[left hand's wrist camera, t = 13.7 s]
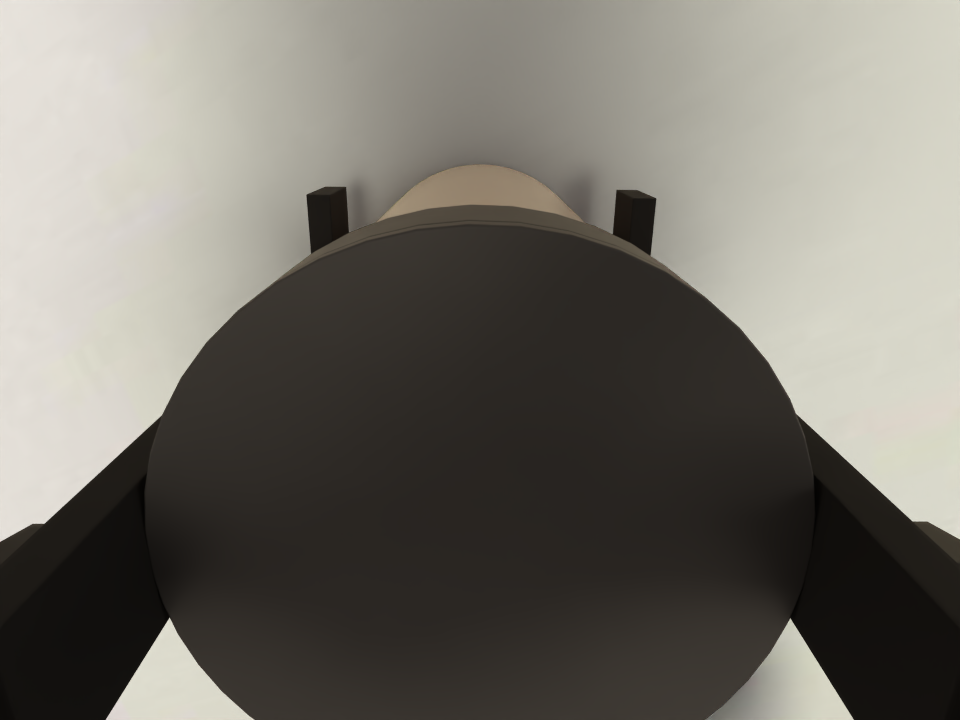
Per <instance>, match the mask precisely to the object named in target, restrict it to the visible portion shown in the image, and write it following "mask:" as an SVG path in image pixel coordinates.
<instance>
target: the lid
mask: <svg viewBox="0 0 960 720" xmlns="http://www.w3.org/2000/svg"><path fill="white" fill-rule="evenodd" d="M144 514H145V535H146V541H147V546H148V551H149V556H150V561H151V566H152V570H153V575H154V578H155V581H156V585H157V588H158V591H159V594H160V597H161V600H162V603H163V605H164V607H165V609H166V611H167V613H168V615H169V617H170V619H171V621H172V623H173V625H174V627H175V629H176V631H177V633H178V635H179V636H180V638H181V639H182V641H183V642H184V644H185V645H186V647H187V648H188V650H189V651H190V653H191V654H192V656H193V657H194V659H195V660H196V662H197V663H198V665H199V666H200V667H201V668H202V669H203V670H204V671H205V673H206V674H207V675H208V676H209V677H210V678H211V679H212V681H213V682H214V683H215V684H216V685H217V686H218V687H219V689H220V690H221V691H222V692H223V693H224V694H225V695H227V696H228V697H229V698H230V699H231V700H232V701H233V702H234V703H235V704H237V705H238V706H239V707H240V708H241V709H242V710H243V711H244V712H245V713H247V714H248V715H249V716H250V717H252V718H253V719H254V720H705V719H706V718H708V717H709V716H710V715H711V714H713V713H714V712H715V711H716V710H718V709H719V708H720V707H722V706H723V705H724V704H725V703H726V702H727V701H728V700H729V699H730V698H731V697H732V696H733V695H734V694H735V693H736V692H737V691H738V690H739V689H740V688H741V687H742V686H743V685H744V684H745V683H746V682H747V681H748V680H749V679H750V677H751V676H752V675H753V673H754V672H755V671H756V670H757V668H758V667H759V666H760V665H761V663H762V662H763V661H764V659H765V658H766V657H767V656H768V654H769V653H770V652H771V650H772V648H773V647H774V645H775V643H776V642H777V640H778V638H779V637H780V635H781V633H782V631H783V630H784V628H785V626H786V625H787V623H788V621H789V619H790V617H791V615H792V612H793V610H794V607H795V605H796V603H797V600H798V598H799V595H800V593H801V591H802V588H803V585H804V581H805V577H806V573H807V569H808V564H809V560H810V555H811V550H812V545H813V537H814V527H815V517H816V510H815V493H814V476H813V471H812V466H811V462H810V457H809V453H808V448H807V444H806V439H805V436H804V433H803V431H802V428H801V425H800V423H799V420H798V418H797V415H796V413H795V410H794V408H793V405H792V403H791V400H790V398H789V396H788V395H787V393H786V391H785V390H784V388H783V386H782V385H781V383H780V381H779V380H778V378H777V376H776V375H775V373H774V371H773V369H772V368H771V366H770V364H769V363H768V361H767V360H766V359H765V358H764V357H763V355H762V354H761V353H760V352H759V351H758V349H757V348H756V347H755V346H754V344H753V343H752V342H751V341H750V340H749V338H748V337H747V336H746V335H745V334H744V332H743V331H742V330H741V329H740V328H739V327H738V326H737V325H736V324H735V323H734V322H732V321H731V320H730V319H729V318H728V317H727V316H726V315H725V314H724V313H722V312H721V311H720V310H719V309H718V308H717V307H716V306H715V305H713V304H712V303H711V302H710V301H709V300H708V299H707V298H706V297H704V296H703V295H702V294H700V293H699V292H698V291H697V290H695V289H694V288H693V287H692V286H690V285H689V284H688V283H686V282H685V281H684V280H683V279H681V278H680V277H679V276H677V275H676V274H675V273H674V272H672V271H671V270H670V269H668V268H667V267H666V266H665V265H663V264H662V263H660V262H659V261H657V260H656V259H654V258H653V257H651V256H650V255H648V254H646V253H645V252H643V251H642V250H640V249H639V248H637V247H636V246H634V245H633V244H631V243H629V242H627V241H625V240H623V239H621V238H619V237H617V236H615V235H613V234H610V233H608V232H606V231H604V230H602V229H600V228H598V227H596V226H593V225H590V224H587V223H584V222H581V221H577V220H574V219H571V218H568V217H565V216H562V215H559V214H555V213H550V212H544V211H539V210H533V209H527V208H521V207H516V206H498V205H472V204H470V205H460V206H449V207H439V208H428V209H424V210H420V211H416V212H411V213H407V214H403V215H398V216H394V217H390V218H386V219H384V220H381V221H379V222H376V223H373V224H371V225H368V226H365V227H363V228H360V229H358V230H355V231H352V232H350V233H348V234H346V235H344V236H342V237H340V238H339V239H337V240H335V241H333V242H331V243H330V244H328V245H326V246H324V247H322V248H321V249H319V250H317V251H315V252H313V253H312V254H311V255H309V256H308V257H307V258H305V259H304V260H303V261H301V262H300V263H299V264H297V265H296V266H295V267H293V268H292V269H291V270H289V271H288V272H287V273H285V274H284V275H283V276H282V277H280V278H279V279H278V280H276V281H275V282H274V283H273V284H271V285H270V286H269V287H267V288H266V289H265V290H264V291H262V292H261V293H260V294H258V295H257V296H256V297H255V298H253V299H252V300H251V301H249V302H248V303H247V304H246V305H244V306H243V307H242V308H240V309H239V310H238V311H237V312H236V313H235V314H234V315H233V316H232V317H231V318H230V319H229V320H228V321H227V322H226V323H225V324H224V325H223V326H222V327H221V328H220V329H219V330H218V331H217V332H216V333H215V334H214V335H213V336H212V337H211V338H210V339H209V340H208V341H207V342H206V344H205V345H204V347H203V348H202V349H201V351H200V352H199V354H198V355H197V356H196V358H195V359H194V360H193V362H192V363H191V365H190V366H189V367H188V369H187V370H186V372H185V373H184V374H183V376H182V377H181V379H180V381H179V383H178V385H177V387H176V389H175V391H174V393H173V395H172V397H171V399H170V401H169V403H168V405H167V407H166V409H165V411H164V413H163V414H162V417H161V421H160V424H159V427H158V430H157V433H156V436H155V439H154V443H153V446H152V449H151V452H150V457H149V464H148V471H147V477H146V484H145V491H144Z"/></svg>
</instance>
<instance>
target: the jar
mask: <svg viewBox="0 0 960 720" xmlns="http://www.w3.org/2000/svg"><path fill="white" fill-rule="evenodd" d="M470 204H472V205H498V206H516V207H521V208H527V209H533V210H539V211H544V212H550V213H555V214H559V215H562V216H565V217H568V218H571V219H574V220H577V221H581V222H584V221H583V220H582V219H581V218H580V217H579V216H578V215H577V214H576V213H575V212H574V211H572V210H571V209H570V208H569V207H568V206H567V205H566V204H565V203H564V202H563V201H562V200H561V199H560V198H559V197H558V196H557V195H556V194H555V193H553V192H552V191H551V190H550V189H549V188H548V187H546V186H545V185H543V184H542V183H540V182H539V181H537V180H536V179H534V178H532V177H530V176H528V175H526V174H524V173H522V172H519V171H516V170H513V169H510V168H507V167H501V166H496V165H482V164H475V165H464V166H459V167H455V168H450V169H447V170H444V171H441V172H439V173H436V174H434V175H432V176H430V177H428V178H426V179H425V180H423V181H421V182H419V183H418V184H417V185H415V186H414V187H413V188H411V189H410V190H409V191H408V192H407V193H406V194H405V195H404V196H402V197H401V198H400V199H399V200H398V201H397V202H396V203H395V204H394V205H393V206H392V207H391V208H390V209H389V210H388V211H387V212H386V213H385V214H384V215H383V216H382V217H381V218H380V219H379V220H378V221H377V222H379V221H381V220H384V219H386V218H390V217H394V216H398V215H403V214H407V213H411V212H416V211H420V210H424V209H428V208H439V207H449V206H460V205H470ZM375 223H376V222H375ZM584 223H585V222H584Z"/></svg>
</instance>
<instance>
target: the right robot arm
mask: <svg viewBox="0 0 960 720" xmlns="http://www.w3.org/2000/svg"><path fill="white" fill-rule="evenodd" d="M655 206H656V198H654V197H652V196H649V195H647V194H645V193H642V192H640V191H638V190H617V191H616V203H615V216H614V228H613V235H615V236H617V237H619V238H621V239H623V240H625V241H627V242H629V243H631V244H633V245H634V246H636V247H637V248H639V249H640V250H642V251H643V252H645V253H646V254H648V255H651V245H652V235H653V226H654V216H655ZM307 207H308V220H309V232H310V245H311V254H312V253H313V252H315V251H317V250H319V249H321V248H322V247H324V246H326V245H328V244H330V243H331V242H333V241H335V240H337V239H339V238H340V237H342V236H344V235H346V234H348V233H349V228H348V211H347V195H346V187H324V188H321V189H319V190H317V191H314V192H312V193H309V194H307Z"/></svg>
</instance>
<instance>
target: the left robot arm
mask: <svg viewBox="0 0 960 720" xmlns="http://www.w3.org/2000/svg"><path fill="white" fill-rule="evenodd" d="M796 415H797V414H796ZM161 417H162V416H161ZM161 417H160V418H159V419H158V420H156V421H155V422H154V423H153V424H152V425H151V426H150V427H149V428H148V429H147V430H146V431H145V432H143V433H142V434H141V435H140V436H139V437H138V438H137V439H136V440H135V441H134V442H133V443H132V444H130V445H129V446H128V447H127V448H126V449H125V450H124V451H123V452H122V453H121V454H120V455H119V456H118V457H116V458H115V459H114V460H113V461H112V462H111V463H110V464H109V465H108V466H107V467H106V468H105V469H103V470H102V471H101V472H100V473H99V474H98V475H97V476H96V477H95V478H94V479H93V480H92V481H90V482H89V483H88V484H87V485H86V486H85V487H84V488H83V489H82V490H81V491H80V492H79V493H77V494H76V495H75V496H74V497H73V498H72V499H71V500H70V501H69V502H68V503H67V504H66V505H64V506H63V507H62V508H61V509H60V510H59V511H58V512H57V513H56V514H55V515H54V516H53V517H51V518H50V519H49V520H48V521H47V522H46V523H45V524H32V525H30V526H28V527H26V528H25V529H23V530H21V531H19V532H17V533H16V534H14V535H12V536H10V537H8V538H7V539H5V540H3V541H1V542H0V720H106V718H107V717H108V715H109V713H110V712H111V710H112V709H113V707H114V705H115V704H116V702H117V701H118V699H119V697H120V696H121V694H122V693H123V691H124V690H125V688H126V686H127V685H128V683H129V682H130V680H131V678H132V677H133V675H134V674H135V672H136V670H137V669H138V667H139V666H140V664H141V662H142V661H143V659H144V658H145V656H146V654H147V653H148V651H149V650H150V648H151V646H152V645H153V643H154V642H155V640H156V638H157V637H158V635H159V634H160V632H161V630H162V629H163V627H164V626H165V624H166V622H167V621H168V619H169V618H170V617H169V615H168V613H167V611H166V609H165V607H164V605H163V603H162V600H161V597H160V594H159V591H158V588H157V585H156V581H155V578H154V575H153V570H152V566H151V561H150V556H149V551H148V546H147V541H146V535H145V514H144V491H145V484H146V477H147V471H148V464H149V457H150V452H151V449H152V446H153V443H154V439H155V436H156V433H157V430H158V427H159V424H160V421H161ZM797 418H798V420H799V423H800V425H801V428H802V431H803V433H804V436H805V439H806V444H807V448H808V453H809V457H810V462H811V466H812V471H813V476H814V493H815V510H816V517H815V527H814V537H813V545H812V550H811V555H810V560H809V564H808V569H807V573H806V577H805V581H804V585H803V588H802V591H801V593H800V595H799V598H798V600H797V603H796V605H795V607H794V610H793V612H792V615H791V617H790V618H791V620H792V621H793V623H794V625H795V626H796V628H797V629H798V631H799V633H800V634H801V636H802V637H803V639H804V641H805V642H806V644H807V645H808V647H809V649H810V650H811V652H812V653H813V655H814V657H815V658H816V660H817V661H818V663H819V665H820V666H821V668H822V669H823V671H824V673H825V674H826V676H827V677H828V679H829V681H830V682H831V684H832V685H833V687H834V689H835V690H836V692H837V693H838V695H839V697H840V698H841V700H842V701H843V703H844V705H845V706H846V708H847V709H848V711H849V713H850V714H851V716H852V717H853V719H854V720H960V539H958V538H956V537H954V536H952V535H951V534H949V533H947V532H945V531H943V530H942V529H940V528H938V527H936V526H934V525H932V524H931V523H929V522H912V521H911V520H910V519H909V518H908V517H907V516H906V515H905V514H904V513H903V512H902V511H901V510H899V509H898V508H897V507H896V506H895V505H894V504H893V503H892V502H891V501H890V500H889V499H888V498H886V497H885V496H884V495H883V494H882V493H881V492H880V491H879V490H878V489H877V488H876V487H875V486H873V485H872V484H871V483H870V482H869V481H868V480H867V479H866V478H865V477H864V476H863V475H862V474H860V473H859V472H858V471H857V470H856V469H855V468H854V467H853V466H852V465H851V464H850V463H849V462H847V461H846V460H845V459H844V458H843V457H842V456H841V455H840V454H839V453H838V452H837V451H836V450H835V449H833V448H832V447H831V446H830V445H829V444H828V443H827V442H826V441H825V440H824V439H823V438H822V437H820V436H819V435H818V434H817V433H816V432H815V431H814V430H813V429H812V428H811V427H810V426H809V425H807V424H806V423H805V422H804V421H803V420H802V419H801V418H800V417H799V416H798V415H797Z"/></svg>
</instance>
